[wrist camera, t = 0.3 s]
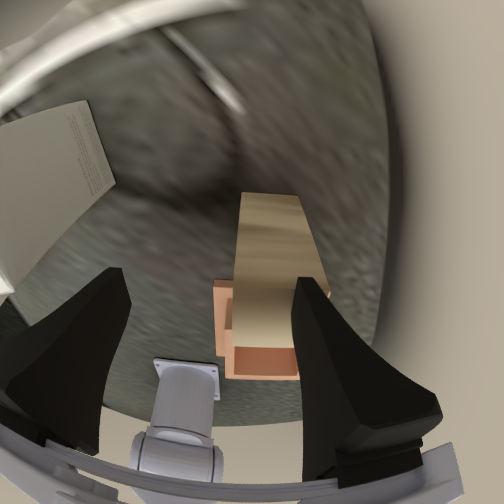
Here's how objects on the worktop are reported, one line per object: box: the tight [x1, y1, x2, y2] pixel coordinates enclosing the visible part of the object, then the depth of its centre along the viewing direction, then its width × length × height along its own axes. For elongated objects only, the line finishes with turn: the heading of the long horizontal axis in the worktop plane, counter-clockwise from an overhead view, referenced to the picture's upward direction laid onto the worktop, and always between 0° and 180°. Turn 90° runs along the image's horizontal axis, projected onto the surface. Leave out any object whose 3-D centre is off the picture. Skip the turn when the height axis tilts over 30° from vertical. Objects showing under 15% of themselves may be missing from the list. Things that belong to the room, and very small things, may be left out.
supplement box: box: [0, 100, 116, 295], centre depth 12 cm, size 7×7×13 cm
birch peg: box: [232, 192, 330, 348], centre depth 16 cm, size 4×4×10 cm
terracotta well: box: [213, 279, 331, 380], centre depth 25 cm, size 10×10×4 cm
